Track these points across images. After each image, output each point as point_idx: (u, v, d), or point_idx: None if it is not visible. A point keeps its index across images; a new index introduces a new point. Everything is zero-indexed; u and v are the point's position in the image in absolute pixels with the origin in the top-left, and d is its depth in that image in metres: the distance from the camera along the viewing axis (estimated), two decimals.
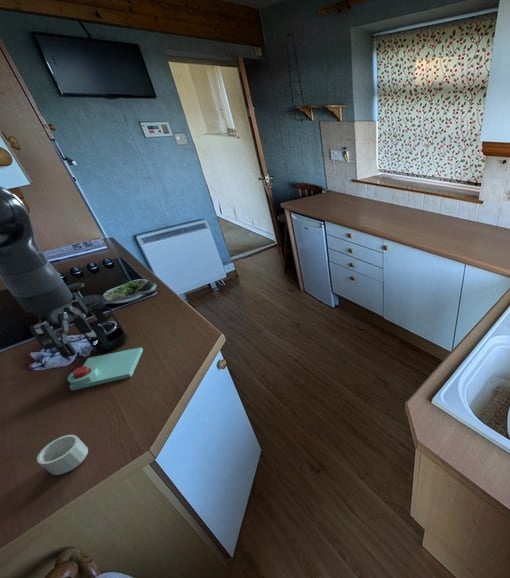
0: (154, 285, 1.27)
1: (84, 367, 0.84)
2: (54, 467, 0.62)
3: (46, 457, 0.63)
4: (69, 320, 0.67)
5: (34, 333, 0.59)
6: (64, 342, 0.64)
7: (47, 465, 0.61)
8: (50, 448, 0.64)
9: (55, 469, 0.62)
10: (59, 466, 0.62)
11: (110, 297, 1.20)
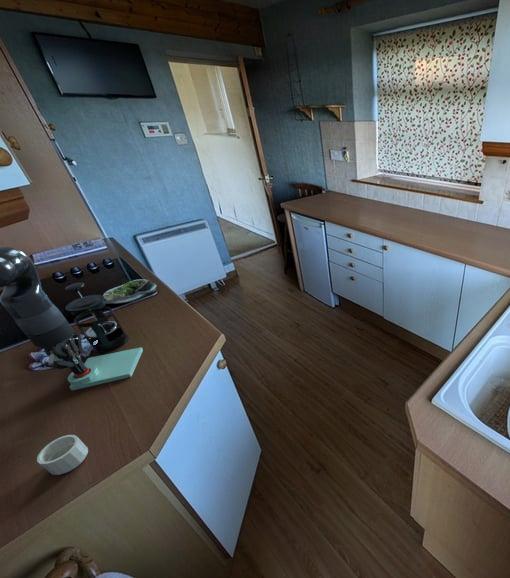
0: (154, 285, 1.27)
1: None
2: (54, 467, 0.62)
3: (46, 457, 0.63)
4: None
5: (50, 366, 0.75)
6: (76, 362, 0.80)
7: (47, 465, 0.61)
8: (50, 448, 0.64)
9: (55, 469, 0.62)
10: (59, 466, 0.62)
11: (110, 297, 1.20)
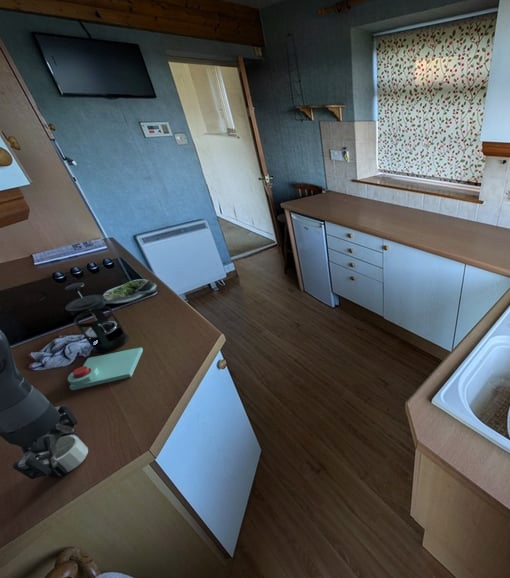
0: (154, 285, 1.27)
1: (84, 367, 0.84)
2: None
3: None
4: (56, 439, 0.62)
5: (19, 469, 0.55)
6: (54, 466, 0.60)
7: None
8: None
9: None
10: None
11: (110, 297, 1.20)
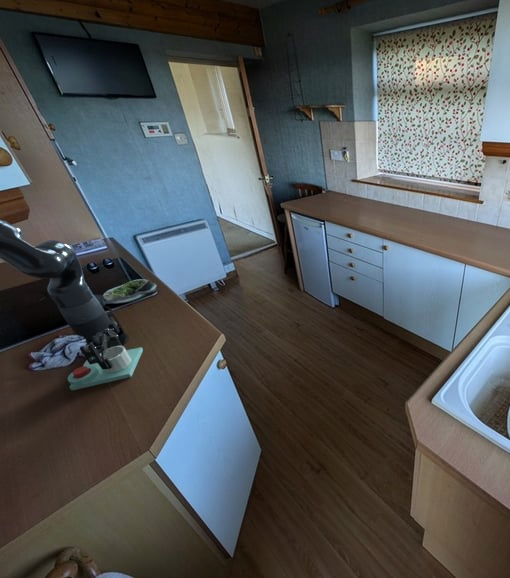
0: (154, 285, 1.27)
1: (84, 367, 0.84)
2: None
3: None
4: (107, 340, 0.84)
5: (83, 351, 0.76)
6: (104, 358, 0.81)
7: None
8: None
9: None
10: (113, 364, 0.85)
11: (110, 297, 1.20)
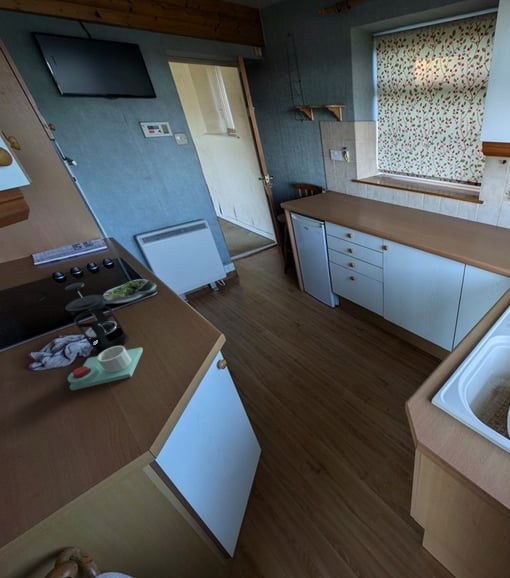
0: (154, 285, 1.27)
1: (84, 367, 0.84)
2: (109, 365, 0.84)
3: (102, 359, 0.86)
4: None
5: None
6: None
7: (105, 363, 0.84)
8: (105, 354, 0.87)
9: (110, 367, 0.85)
10: (113, 364, 0.85)
11: (110, 297, 1.20)
